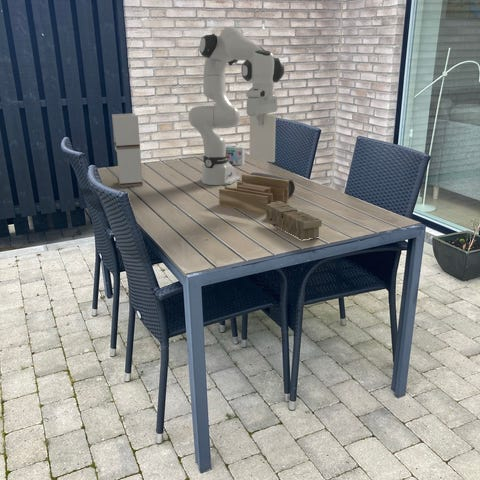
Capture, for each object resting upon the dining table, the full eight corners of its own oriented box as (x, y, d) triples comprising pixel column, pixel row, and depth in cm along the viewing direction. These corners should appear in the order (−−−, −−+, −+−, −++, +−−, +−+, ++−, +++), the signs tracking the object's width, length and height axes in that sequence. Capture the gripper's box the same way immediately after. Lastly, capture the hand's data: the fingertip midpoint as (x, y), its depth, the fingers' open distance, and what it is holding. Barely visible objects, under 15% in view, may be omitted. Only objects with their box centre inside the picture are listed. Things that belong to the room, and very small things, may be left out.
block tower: (264, 223, 214) (303, 243, 189) (264, 203, 211) (303, 221, 186) (280, 220, 217) (321, 240, 192) (281, 200, 214) (321, 218, 189)
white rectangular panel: (251, 158, 233) (251, 113, 226) (274, 161, 227) (275, 115, 220) (249, 159, 232) (249, 113, 225) (273, 162, 226) (274, 115, 219)
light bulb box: (225, 164, 312) (225, 146, 309) (227, 162, 319) (227, 144, 315) (242, 165, 311) (242, 147, 307) (244, 163, 317) (244, 145, 313)
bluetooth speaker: (246, 193, 253) (246, 173, 249) (258, 189, 259) (258, 169, 255) (282, 202, 238) (283, 180, 235) (295, 198, 244) (295, 177, 241)
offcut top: (244, 188, 235) (244, 183, 235) (270, 193, 228) (270, 187, 227) (236, 191, 231) (236, 186, 230) (263, 196, 223) (263, 190, 222)
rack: (243, 197, 245) (243, 173, 241) (288, 205, 233) (288, 180, 229) (218, 208, 229) (218, 182, 225) (265, 217, 217) (266, 190, 213)
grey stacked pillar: (139, 180, 276) (134, 113, 263) (142, 185, 266) (137, 116, 254) (117, 182, 272) (111, 114, 260) (120, 187, 263) (114, 117, 251)
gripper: (268, 89, 229) (268, 121, 234) (243, 92, 213) (243, 127, 218) (281, 90, 226) (280, 122, 231) (257, 93, 210) (256, 128, 215)
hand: (262, 124), depth 224 cm, fingers closed on white rectangular panel, 2 cm apart
